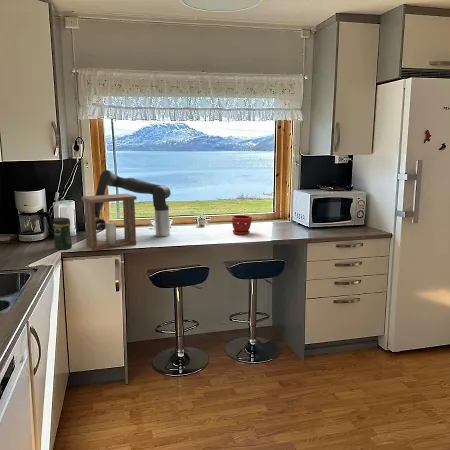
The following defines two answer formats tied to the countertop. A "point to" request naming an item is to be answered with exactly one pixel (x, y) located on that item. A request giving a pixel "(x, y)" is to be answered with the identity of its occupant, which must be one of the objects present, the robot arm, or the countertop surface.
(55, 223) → the coffee jar
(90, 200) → the on counter shelf
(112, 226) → the white cylinder
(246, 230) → the plant pot
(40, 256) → the countertop surface
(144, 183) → the robot arm
